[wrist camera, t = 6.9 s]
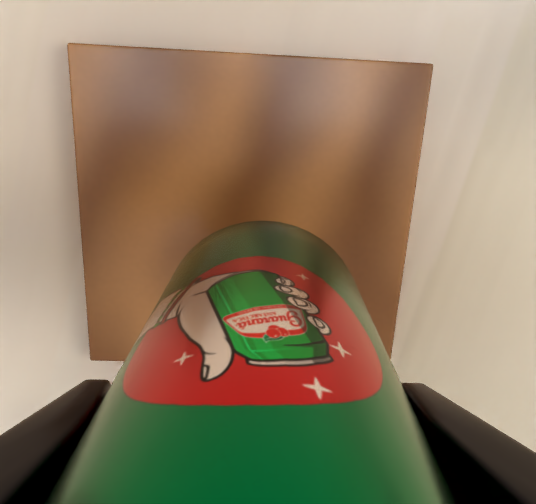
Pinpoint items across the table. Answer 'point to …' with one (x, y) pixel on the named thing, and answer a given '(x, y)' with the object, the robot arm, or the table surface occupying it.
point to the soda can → (256, 390)
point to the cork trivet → (238, 167)
